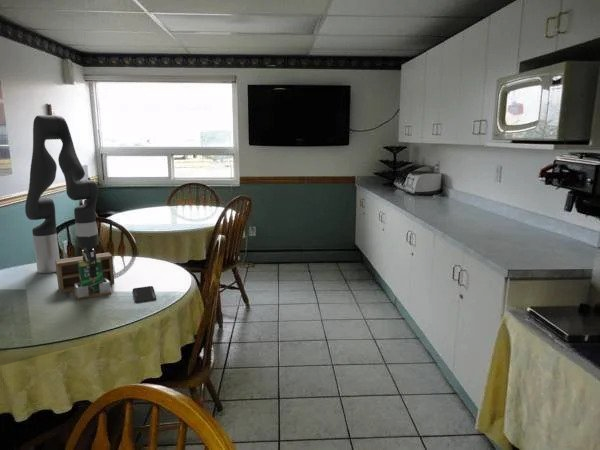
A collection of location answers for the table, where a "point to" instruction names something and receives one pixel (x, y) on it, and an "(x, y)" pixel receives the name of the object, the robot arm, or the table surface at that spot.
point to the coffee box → (85, 276)
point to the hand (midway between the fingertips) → (91, 274)
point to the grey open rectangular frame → (84, 289)
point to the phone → (144, 294)
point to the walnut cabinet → (70, 273)
